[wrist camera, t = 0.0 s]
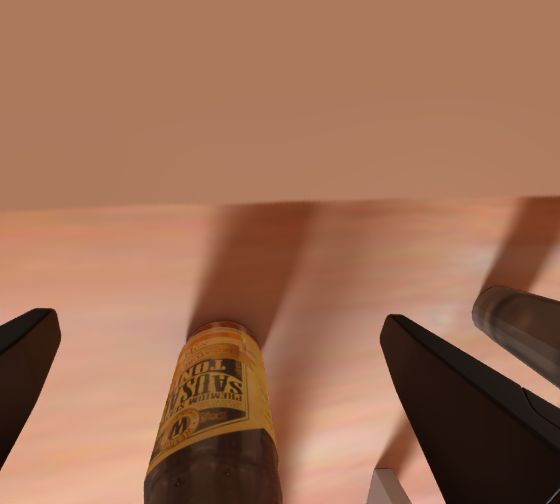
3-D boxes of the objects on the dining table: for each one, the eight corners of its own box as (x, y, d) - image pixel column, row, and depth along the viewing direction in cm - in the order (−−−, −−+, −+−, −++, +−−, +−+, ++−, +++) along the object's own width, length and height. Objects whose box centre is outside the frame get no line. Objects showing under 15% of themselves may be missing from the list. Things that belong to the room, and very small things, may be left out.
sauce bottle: (235, 301, 25) (280, 691, 6) (273, 361, 27) (402, 811, 8) (160, 344, 25) (-37, 895, 6) (204, 402, 27) (162, 972, 8)
